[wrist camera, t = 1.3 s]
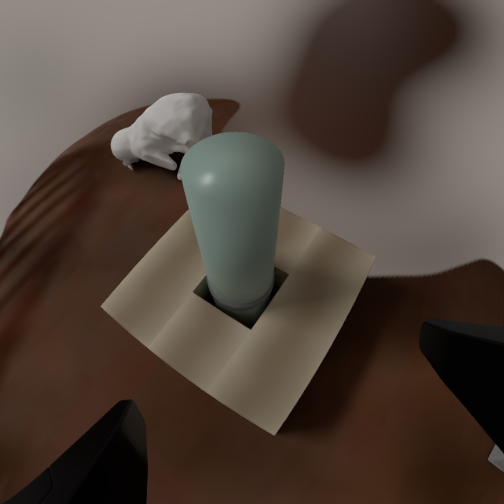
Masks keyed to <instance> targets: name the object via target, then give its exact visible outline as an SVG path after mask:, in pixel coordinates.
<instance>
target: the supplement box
mask: <svg viewBox="0 0 504 504" xmlns="http://www.w3.org/2000/svg"><path fill="white" fill-rule="evenodd" d="M488 461H489V462H491V463H492V464H493V465H495V466H496V467H497V468H499V469H500V470H501V471H503V472H504V454H503V453H502V451H501V450H500V449H499V448H498V446H497V445H496V444H495V446H494V448H493V450H492V452H491V454H490V456H489V458H488Z"/></svg>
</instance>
